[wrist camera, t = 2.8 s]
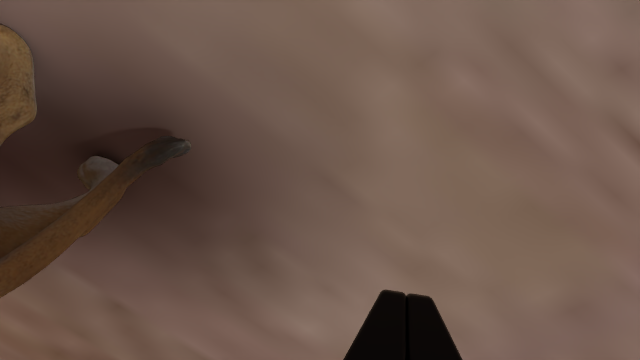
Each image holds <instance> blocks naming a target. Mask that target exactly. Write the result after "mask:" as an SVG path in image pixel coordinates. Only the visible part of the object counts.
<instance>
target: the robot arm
mask: <svg viewBox="0 0 640 360" xmlns="http://www.w3.org/2000/svg"><path fill="white" fill-rule="evenodd" d="M344 360H462V358H461V356H460V354H459V352H458V350H457V348H456V346H455V344H454V342H453V340H452V338H451V336H450V334H449V332H448V329H447V327H446V325H445V323H444V321H443V319H442V317H441V315H440V313H439V311H438V309H437V307H436V305H435V303H434V301H433V300H432V298H430V297H429V296H424V295H418V294H408V295H407V296H406V295H405V294H404V293H403V292H398V291H391V290H383V291H381V293H380V294H379V296H378V298H377V300H376V301H375V303H374V305H373V307H372V309H371V310H370V312H369V314H368V316H367V318H366V320H365V321H364V323H363V325H362V327H361V329H360V330H359V332H358V334H357V336H356V338H355V340H354V341H353V343H352V345H351V347H350V349H349V350H348V352H347V354H346V356H345V358H344Z"/></svg>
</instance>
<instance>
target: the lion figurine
mask: <svg viewBox="0 0 640 360" xmlns="http://www.w3.org/2000/svg"><path fill="white" fill-rule="evenodd" d="M36 113H37V103H36V96H35V84H34V63H33V57H32V54H31V51H30V49H29V47H28V46H27V44H26V43H25V41H24V40H23V39H22V38H21V37H20V36H19V35H17V34H16V33H15V32H14V31H12V30H11V29H10V28H8V27H6V26H4V25H1V24H0V146H1V145H2V143H3V142H4V141H5V139H6V138H8V137H9V136H10V135H11V134H12V133H14V132H15V131H17V130H18V129H20V128H22V127H24V126H26V125H27V124H29V123H31V122H32V121H33V120H34V119H35V117H36ZM190 150H191V143H190V142H189V141H188V140H183V139H178V138H175V137H172V136H164V137H160V138H158V139H156V140H154V141H152V142H150V143H148V144H146V145H145V146H143V147H142V148H140V149H139V150H138V151H136V152H135V153H134V154H132V155H130V156H128V157H127V158H126V159H125V160H124V161H123V162H122V163H121V164H120V165H118V164H116V163H115V162H113V161H111V160H109V159H107V158H103V157H99V156H92V157H90V158H89V159H88V160H87V161H86V162H84V163H83V164H81V165H80V166H79V168H78V171H77V175H78V178H79V180H81V181H82V183H83V184H84V186H85V187H86V188H87V189H89V191H88V192H87V193H85V194H83V195H81V196H78V197H76V198H73V199H70V200H67V201H63V202H59V203H55V204H47V205H25V206H9V207H0V298H1V297H3V296H4V295H6V294H7V293H9V292H11V291H12V290H14V289H16V288H17V287H19V286H21V285H22V284H24V283H25V282H27V281H28V280H29V279H31V278H32V277H33V276H35V275H36V274H37V273H38V272H40V271H41V270H42V269H44V268H45V267H46V266H48V265H49V264H50V263H51V262H52V261H53V260H55V259H56V258H57V257H58V256H59V255H61V254H62V253H63V252H64V251H65V250H66V249H67V248H68V247H69V246H70V245H71V244H72V243H74V242H75V241H76V240H77V239H78V238H79V237H82V236H85V235H86V234H88V233H89V232H90V231H91V230H92V229H93V228H94V227H95V226H96V225H97V224H98V223H99V222H100V221H101V220H102V219H103V218H104V216H105V215H106V214H107V213H108V212H109V211H110V210H111V209H112V208H113V207H114V206H115V205H116V204H117V203H118V202H119V200H120V199H121V198H122V196H123V194H124V192H125V190H126V188H127V187H128V186H129V185H130V184H132V183H133V182H134V181H135V180H137V179H138V178H139V177H140V176H141V175H142V174H143V173H144V172H146V171H147V170H149V169H151V168H153V167H156V166H159V165H162V164H163V163H165V162H166V161H167V160H169V159H171V158H175V157H179V156H182V155H184V154H186V153H188V152H189V151H190Z"/></svg>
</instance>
